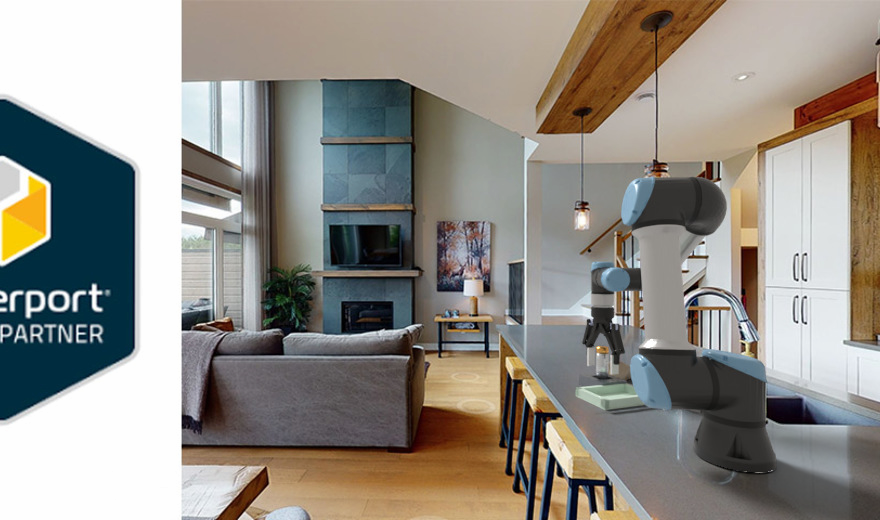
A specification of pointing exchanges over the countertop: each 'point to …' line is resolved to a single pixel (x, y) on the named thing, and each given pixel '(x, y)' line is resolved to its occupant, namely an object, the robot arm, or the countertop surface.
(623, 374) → the stone
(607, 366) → the clear bottle
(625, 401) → the tray
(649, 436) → the countertop surface
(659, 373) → the robot arm
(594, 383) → the hitch block
